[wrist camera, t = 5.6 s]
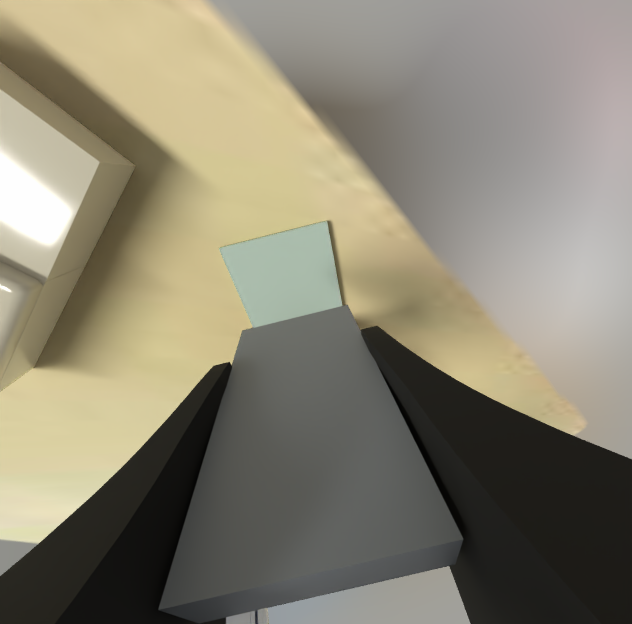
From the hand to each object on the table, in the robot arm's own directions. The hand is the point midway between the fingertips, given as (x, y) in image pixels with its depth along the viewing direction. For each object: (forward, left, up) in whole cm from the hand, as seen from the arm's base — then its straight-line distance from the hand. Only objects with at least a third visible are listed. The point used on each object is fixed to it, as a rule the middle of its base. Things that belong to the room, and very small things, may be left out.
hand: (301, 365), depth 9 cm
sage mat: (-7, +1, -9) cm, 11 cm away
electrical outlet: (+6, +16, -9) cm, 19 cm away
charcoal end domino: (0, 0, -2) cm, 2 cm away
